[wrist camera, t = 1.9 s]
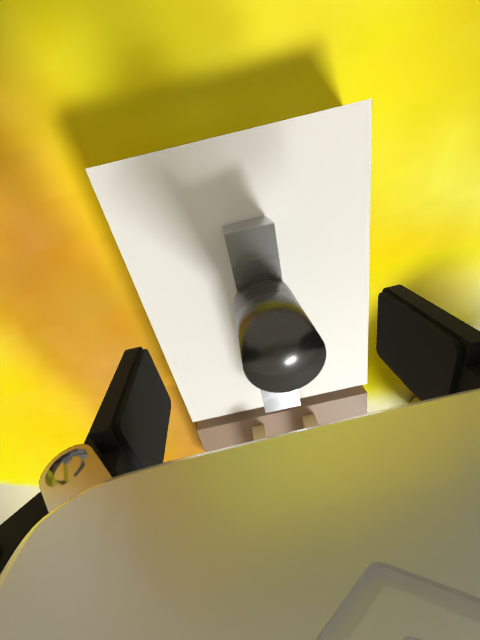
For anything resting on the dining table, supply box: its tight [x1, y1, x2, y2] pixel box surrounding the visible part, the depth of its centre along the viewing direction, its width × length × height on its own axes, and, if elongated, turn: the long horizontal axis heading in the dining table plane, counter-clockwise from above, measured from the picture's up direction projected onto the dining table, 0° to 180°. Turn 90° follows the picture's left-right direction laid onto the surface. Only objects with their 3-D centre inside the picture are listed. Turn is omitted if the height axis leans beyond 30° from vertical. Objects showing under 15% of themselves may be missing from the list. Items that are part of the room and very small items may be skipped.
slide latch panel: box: [85, 99, 372, 452], centre depth 20 cm, size 14×27×6 cm, turn 12°
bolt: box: [222, 216, 326, 413], centre depth 15 cm, size 3×12×7 cm, turn 12°
